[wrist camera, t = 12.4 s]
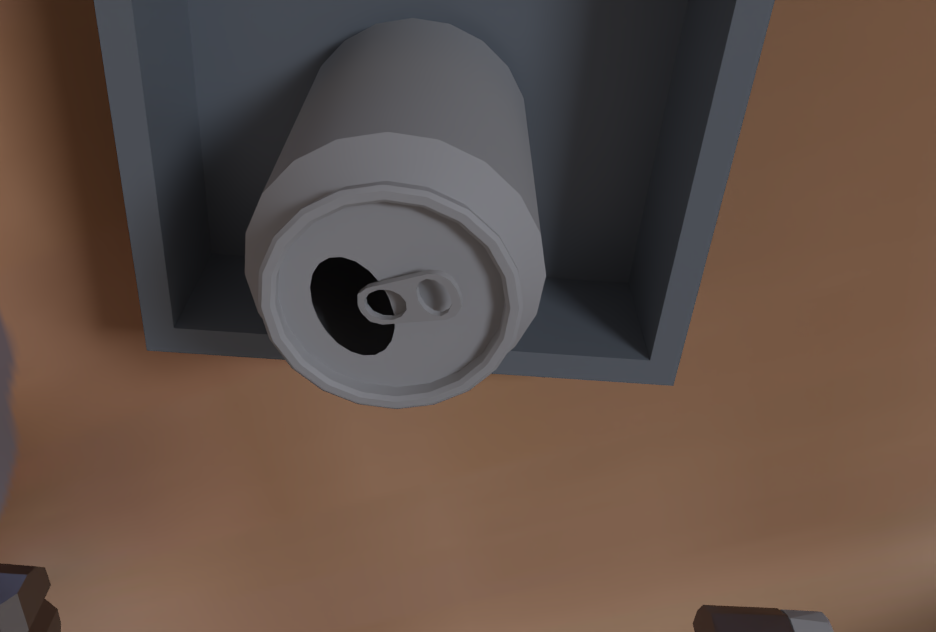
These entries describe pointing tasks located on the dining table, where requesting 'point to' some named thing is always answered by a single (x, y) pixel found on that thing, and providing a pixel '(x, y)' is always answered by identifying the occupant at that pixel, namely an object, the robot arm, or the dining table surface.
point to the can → (401, 220)
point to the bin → (550, 137)
